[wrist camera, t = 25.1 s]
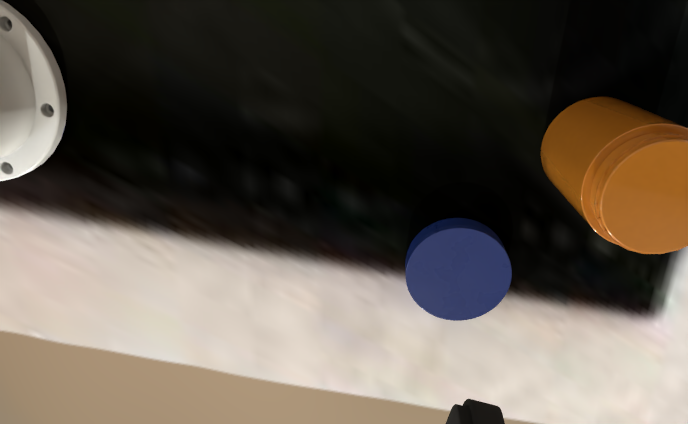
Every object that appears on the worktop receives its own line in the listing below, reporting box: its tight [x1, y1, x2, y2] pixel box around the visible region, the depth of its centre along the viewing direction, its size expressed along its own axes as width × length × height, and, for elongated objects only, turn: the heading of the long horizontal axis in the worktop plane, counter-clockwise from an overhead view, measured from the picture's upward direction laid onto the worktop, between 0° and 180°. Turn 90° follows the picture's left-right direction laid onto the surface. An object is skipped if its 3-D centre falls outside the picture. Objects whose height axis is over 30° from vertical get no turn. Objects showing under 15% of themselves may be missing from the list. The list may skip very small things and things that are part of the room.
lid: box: [405, 218, 512, 320], centre depth 36 cm, size 7×7×2 cm
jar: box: [541, 97, 688, 254], centre depth 29 cm, size 6×6×10 cm
